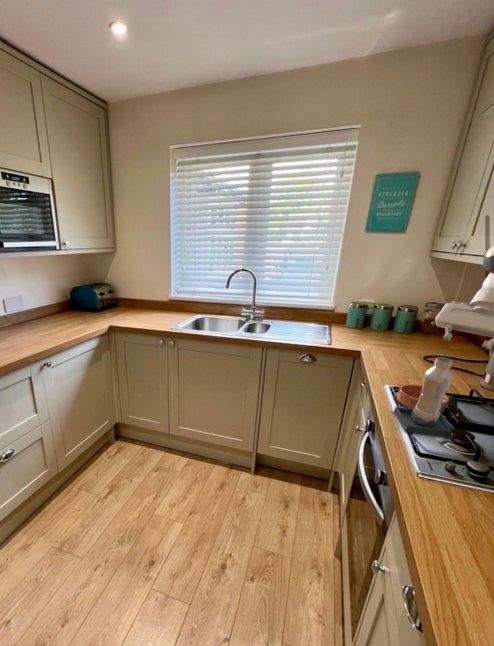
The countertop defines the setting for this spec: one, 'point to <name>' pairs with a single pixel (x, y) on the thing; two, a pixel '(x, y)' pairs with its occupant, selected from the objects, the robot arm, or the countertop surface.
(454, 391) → the countertop surface
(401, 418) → the tray
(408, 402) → the bowl
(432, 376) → the plastic bottle
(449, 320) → the robot arm
